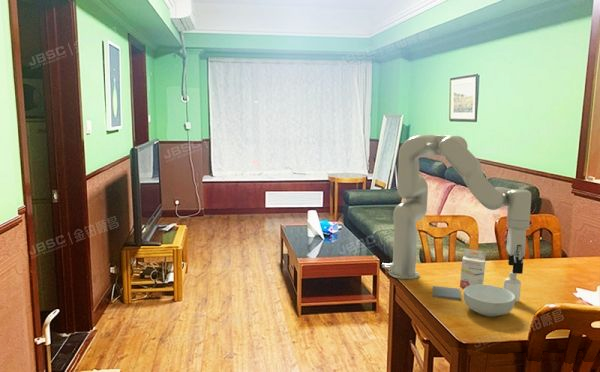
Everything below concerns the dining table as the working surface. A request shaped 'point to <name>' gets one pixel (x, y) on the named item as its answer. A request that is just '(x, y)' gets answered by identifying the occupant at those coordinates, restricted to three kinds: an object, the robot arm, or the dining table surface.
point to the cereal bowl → (489, 299)
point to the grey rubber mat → (446, 293)
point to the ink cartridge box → (472, 268)
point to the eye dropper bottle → (513, 285)
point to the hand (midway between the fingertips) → (515, 269)
